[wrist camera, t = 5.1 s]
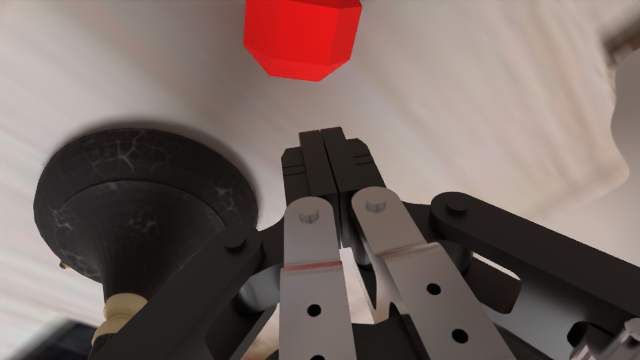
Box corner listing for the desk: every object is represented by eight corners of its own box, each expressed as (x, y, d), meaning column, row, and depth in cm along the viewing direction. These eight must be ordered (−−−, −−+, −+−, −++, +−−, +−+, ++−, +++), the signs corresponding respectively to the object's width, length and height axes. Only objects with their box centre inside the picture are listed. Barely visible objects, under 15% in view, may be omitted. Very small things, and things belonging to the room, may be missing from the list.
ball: (353, -40, 29) (377, -21, 23) (332, 59, 34) (348, 96, 28) (250, -61, 27) (248, -46, 21) (243, 47, 32) (240, 83, 26)
